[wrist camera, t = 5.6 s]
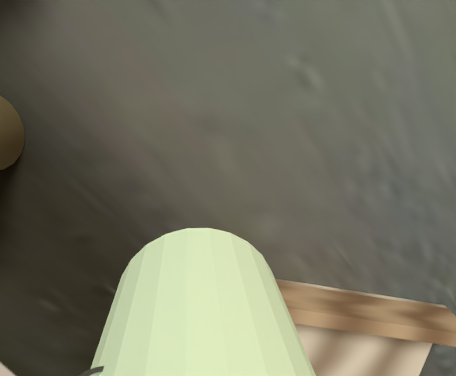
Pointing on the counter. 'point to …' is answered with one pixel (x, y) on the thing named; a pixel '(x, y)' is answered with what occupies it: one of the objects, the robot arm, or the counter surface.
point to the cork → (10, 134)
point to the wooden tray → (365, 330)
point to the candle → (200, 313)
